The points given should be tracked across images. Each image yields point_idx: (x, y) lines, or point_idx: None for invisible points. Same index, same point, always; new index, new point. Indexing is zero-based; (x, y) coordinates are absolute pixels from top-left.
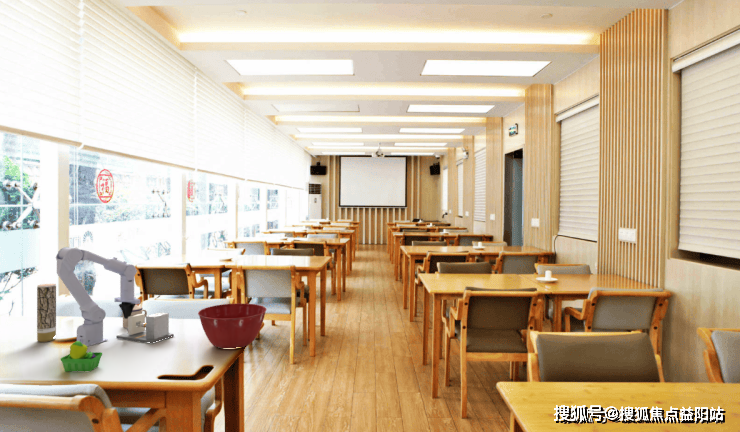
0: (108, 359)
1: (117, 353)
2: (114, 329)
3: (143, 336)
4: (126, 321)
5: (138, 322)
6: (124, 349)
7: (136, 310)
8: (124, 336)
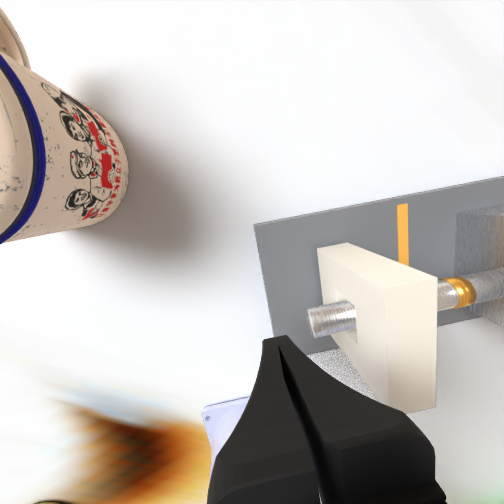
0: (493, 463)
1: (469, 428)
2: (75, 279)
3: None
4: (71, 227)
5: None
6: (454, 397)
7: (38, 151)
8: (329, 345)
